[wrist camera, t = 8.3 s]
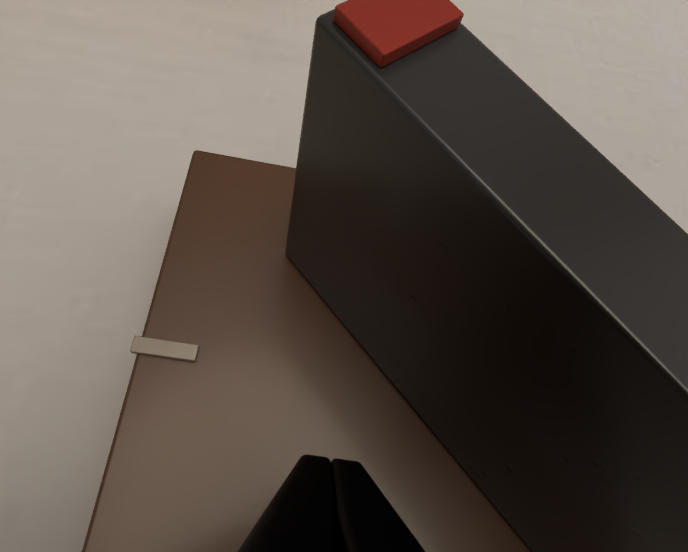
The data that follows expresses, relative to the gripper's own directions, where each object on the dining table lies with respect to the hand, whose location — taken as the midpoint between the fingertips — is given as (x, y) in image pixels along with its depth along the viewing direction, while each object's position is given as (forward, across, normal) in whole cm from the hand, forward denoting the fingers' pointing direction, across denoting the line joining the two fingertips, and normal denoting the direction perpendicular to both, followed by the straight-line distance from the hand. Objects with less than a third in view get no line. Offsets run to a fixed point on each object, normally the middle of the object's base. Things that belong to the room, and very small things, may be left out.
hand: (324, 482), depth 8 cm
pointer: (+5, -3, +1) cm, 5 cm away
